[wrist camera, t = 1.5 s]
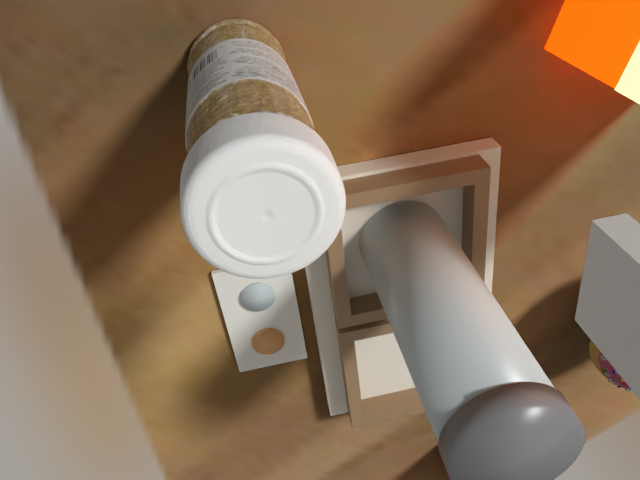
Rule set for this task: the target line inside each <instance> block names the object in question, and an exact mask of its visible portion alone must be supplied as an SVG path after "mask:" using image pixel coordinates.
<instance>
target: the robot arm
mask: <svg viewBox="0 0 640 480" xmlns="http://www.w3.org/2000/svg"><path fill="white" fill-rule="evenodd" d="M575 321H576V322H577V323H578V324H579V326H580V327H581V328H582V329H583V331H584V332H585V333H586V334H587V335H588V337H589V338H590V339H591V340H592V342H593V343H594V344H595V345H596V347H597V348H598V349H599V350H600V351H601V353H602V354H603V355H604V356H605V358H606V359H607V360H608V361H609V362H610V364H611V365H612V366H613V367H614V369H615V370H616V371H617V372H618V374H619V375H620V376H621V377H622V378H623V380H624V381H625V382H626V383H627V385H628V386H629V387H630V388H631V390H632V391H633V392H634V393H635V394H636V396H637V397H638V398H639V399H640V224H639V223H638V222H637V221H636V220H634V219H633V218H632V217H631V216H630V215H628V214H627V213H626V214H621V215H616V216H612V217H607V218H602V219H597V220H592V224H591V229H590V235H589V241H588V246H587V252H586V258H585V263H584V269H583V275H582V280H581V286H580V292H579V297H578V303H577V309H576V314H575Z"/></svg>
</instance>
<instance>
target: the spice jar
mask: <svg viewBox="0 0 640 480" xmlns="http://www.w3.org/2000/svg"><path fill="white" fill-rule="evenodd" d="M187 69H188V77H189V80H188V86H187V106H186V129H185V142H186V150H187V157H186V159H185V162H184V164H183V167H182V171H181V178H180V215H181V221H182V225H183V228H184V231H185V234H186V236H187V238H188V240H189V242H190V243H191V245H192V246H193V248H194V249H195V250H196V252H197V253H198V254H199V255H200V256H201V257H202V258H204V259H205V260H206V261H207V262H209V263H210V264H211V265H213V266H214V267H216V268H218V269H220V270H222V271H224V272H226V273H229V274H232V275H235V276H239V277H244V278H251V279H267V278H275V277H280V276H284V275H287V274H290V273H293V272H295V271H298V270H300V269H302V268H304V267H306V266H308V265H309V264H311V263H312V262H314V261H315V260H316V259H318V258H319V257H320V256H321V255H322V254H323V253H324V252H325V251H326V250H327V249H328V248H329V247H330V245H331V244H332V243H333V241H334V240H335V238H336V237H337V235H338V233H339V231H340V228H341V226H342V223H343V220H344V215H345V209H346V194H345V189H344V185H343V181H342V178H341V176H340V173H339V170H338V168H337V165H336V163H335V161H334V159H333V156H332V154H331V152H330V150H329V148H328V146H327V145H326V143H325V142H324V141H323V139H322V138H321V137H320V136H319V135H318V134H317V133H316V132H315V130H314V125H313V122H312V119H311V117H310V114H309V112H308V110H307V107H306V105H305V103H304V101H303V98H302V96H301V93H300V91H299V89H298V86H297V84H296V82H295V80H294V77H293V75H292V73H291V71H290V69H289V67H288V65H287V63H286V59H285V55H284V53H283V51H282V48H281V45H280V43H279V41H278V40H277V39H276V38H275V37H274V36H273V35H272V34H271V33H270V32H269V31H268V30H267V29H266V28H264V27H263V26H261V25H260V24H257V23H255V22H252V21H250V20H247V19H228V20H223V21H220V22H218V23H215V24H213V25H211V26H209V27H208V28H206V29H205V30H204V32H203V33H201V34H200V35H199V36H198V38H197V40H196V41H195V42H194V44H193V45H192V48H191V50H190V54H189V58H188V63H187Z"/></svg>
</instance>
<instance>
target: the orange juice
mask: <svg viewBox="0 0 640 480" xmlns="http://www.w3.org/2000/svg"><path fill="white" fill-rule="evenodd" d="M544 49H545V50H547V51H549V52H550V53H552V54H554V55H556V56H557V57H559V58H561V59H563V60H565V61H566V62H568V63H570V64H572V65H573V66H575V67H577V68H579V69H581V70H582V71H584V72H586V73H588V74H589V75H591V76H593V77H595V78H597V79H598V80H600V81H602V82H604V83H605V84H607V85H609V86H611V87H613V88H614V89H615V91H617V92H619V93H620V94H622V95H624V96H626V97H627V98H629V99H631V100H633V101H635V102H636V103H638V104H640V0H565V2H564V4H563V6H562V8H561V11H560V13H559V15H558V18H557V20H556V22H555V25H554V27H553V29H552V32H551V34H550V36H549V38H548V41H547V43H546V45H545V48H544Z"/></svg>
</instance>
